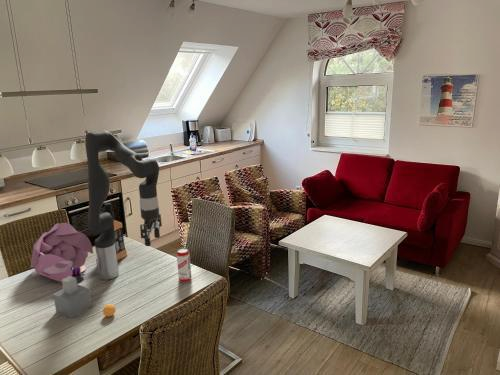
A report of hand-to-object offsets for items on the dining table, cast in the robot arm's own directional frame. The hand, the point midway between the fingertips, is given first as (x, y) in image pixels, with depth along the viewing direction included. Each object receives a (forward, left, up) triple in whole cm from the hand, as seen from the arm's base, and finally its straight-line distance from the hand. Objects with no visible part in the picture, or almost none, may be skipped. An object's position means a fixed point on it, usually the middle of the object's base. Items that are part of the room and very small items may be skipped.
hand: (152, 241), depth 165 cm
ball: (-10, -19, -26) cm, 34 cm away
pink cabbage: (-61, -4, -29) cm, 67 cm away
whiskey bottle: (-52, +21, -29) cm, 63 cm away
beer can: (0, +19, -28) cm, 34 cm away
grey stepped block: (-28, -23, -28) cm, 46 cm away
